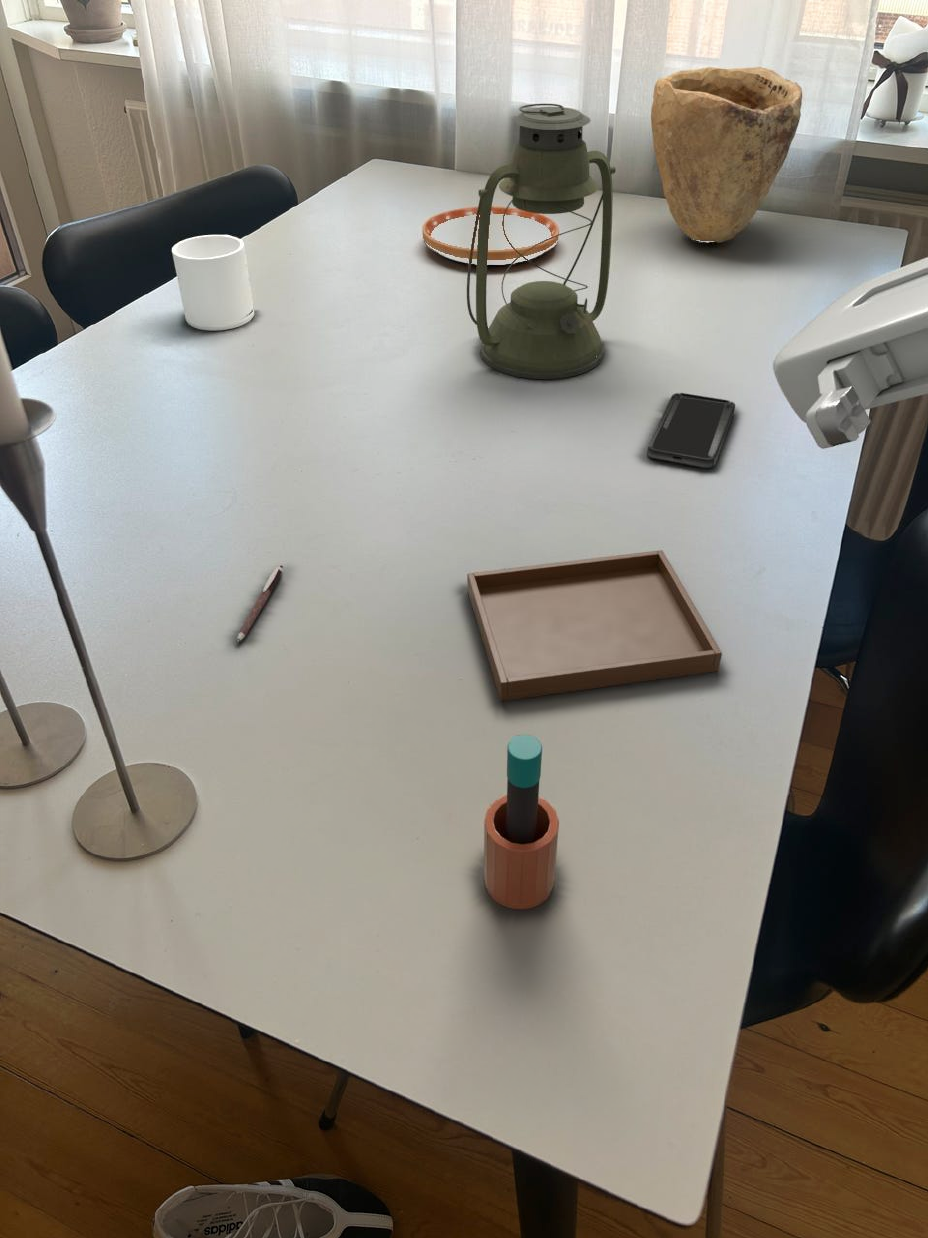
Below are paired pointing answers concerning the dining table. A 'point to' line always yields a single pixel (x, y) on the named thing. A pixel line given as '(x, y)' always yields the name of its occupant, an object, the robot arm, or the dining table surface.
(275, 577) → the pen
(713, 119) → the rough clay pot
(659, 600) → the tray
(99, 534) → the dining table surface
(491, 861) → the pen cup
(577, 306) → the lantern
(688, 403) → the phone
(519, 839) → the marker
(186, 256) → the mug
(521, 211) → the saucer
